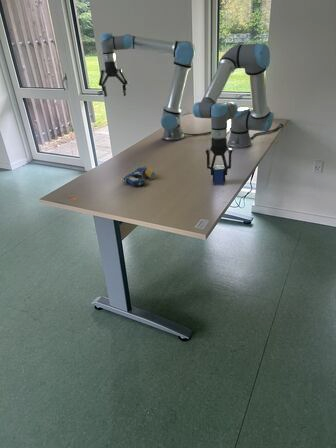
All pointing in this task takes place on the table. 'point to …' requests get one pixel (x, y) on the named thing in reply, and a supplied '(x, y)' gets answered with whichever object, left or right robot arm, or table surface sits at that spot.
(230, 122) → the spoon
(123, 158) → the table surface
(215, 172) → the block
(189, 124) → the table surface
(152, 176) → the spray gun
